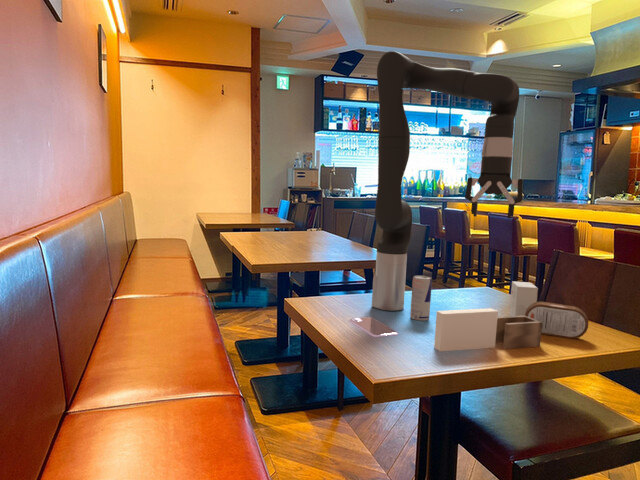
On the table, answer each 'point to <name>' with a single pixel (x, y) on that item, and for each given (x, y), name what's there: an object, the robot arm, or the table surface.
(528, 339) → the slot box
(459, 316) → the white rectangular block
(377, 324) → the mobile phone
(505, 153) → the robot arm
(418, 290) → the energy drink
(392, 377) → the table surface
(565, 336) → the tin
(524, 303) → the small box
